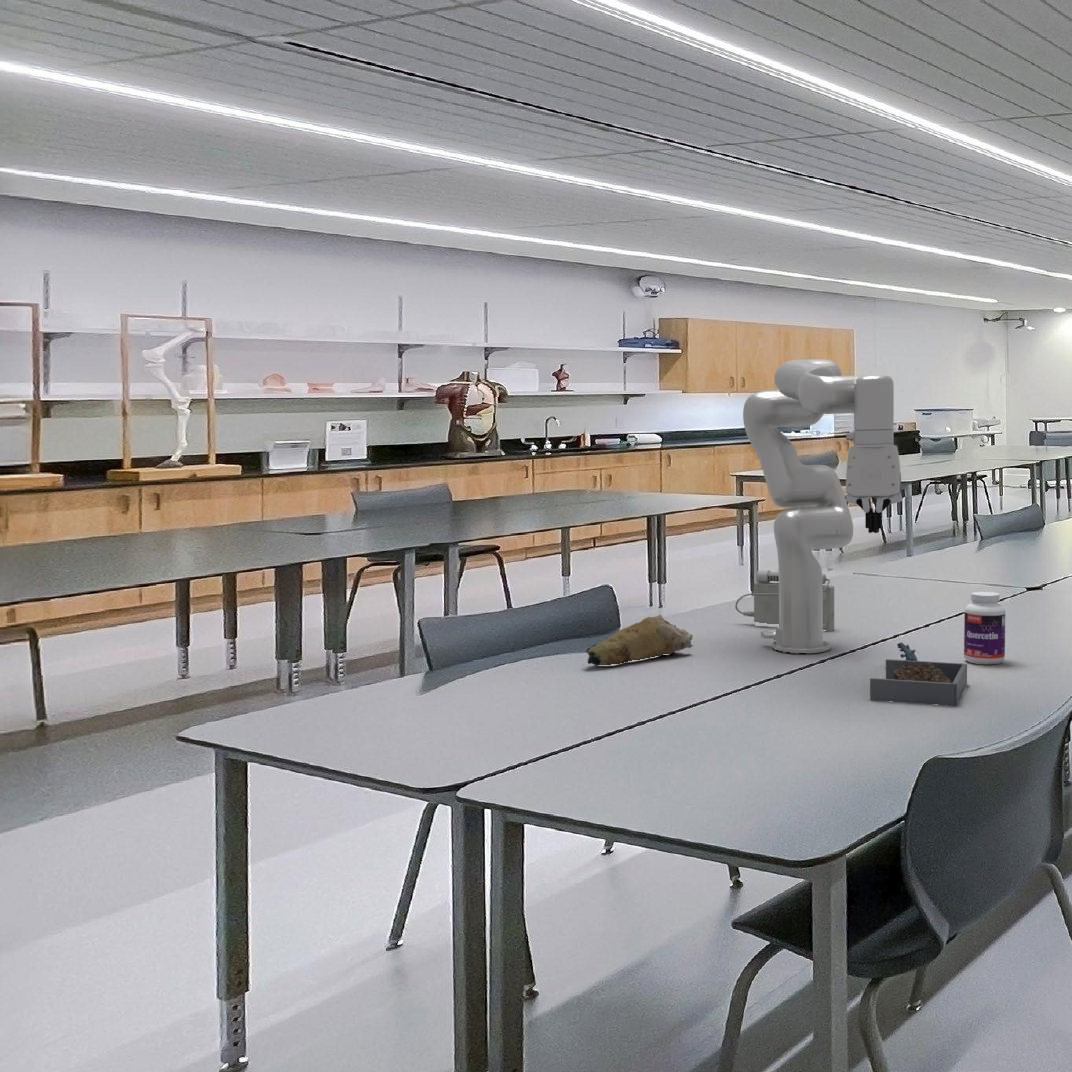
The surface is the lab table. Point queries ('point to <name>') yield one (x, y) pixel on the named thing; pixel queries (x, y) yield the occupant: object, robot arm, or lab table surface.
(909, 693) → the tray
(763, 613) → the geiger counter
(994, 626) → the pill bottle
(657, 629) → the mineral
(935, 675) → the concrete sample
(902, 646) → the sculpture
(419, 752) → the lab table surface
